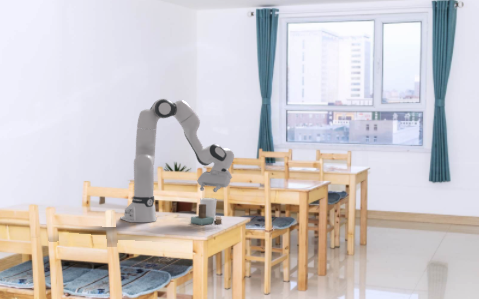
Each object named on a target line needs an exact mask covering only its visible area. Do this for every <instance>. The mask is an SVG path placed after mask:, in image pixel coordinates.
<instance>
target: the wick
mask: <svg viewBox="0 0 479 299" xmlns="http://www.w3.org/2000/svg"><path fill="white" fill-rule="evenodd" d="M215 224H216V225H222V217H221V216H216V215H215Z"/></svg>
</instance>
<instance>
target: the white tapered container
mask: <svg viewBox="0 0 479 299" xmlns="http://www.w3.org/2000/svg"><path fill="white" fill-rule="evenodd" d="M199 199H200V200H199V202H200V203H199V204H206V216H209V217H213V221H214V220H216V211H217V198H215V197H201V198H199Z"/></svg>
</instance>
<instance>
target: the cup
mask: <svg viewBox="0 0 479 299" xmlns="http://www.w3.org/2000/svg"><path fill="white" fill-rule="evenodd" d="M190 223H191V224H193V225H199V226H205V225H212V223H213V224H214V220H213V217H209V216H206V218H203V219H201V218H198V215H196V216H195V215H194V216H191V217H190Z"/></svg>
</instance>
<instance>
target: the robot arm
mask: <svg viewBox="0 0 479 299" xmlns="http://www.w3.org/2000/svg"><path fill="white" fill-rule="evenodd" d="M170 117H174V118H175V119H176V121H177V122H178V123H179V124H180V126H181V128H182V130H183V133H184V136H185V138H186V140H187V142H188V143H189V145H190V147H191V149H192V151H193V152H194V154H195V157H196V160H197V162H198V163H199V164H200V165H202V166H206V167H207V166H209V165H211V164H212V163H213V165H212V168H211V169H210V171H205V172H202V173H201V174H200V176H199V177H198V178H197V179H196V181H197V184H199V186H200V188H199V190H200V191H204V190H205V186H206V187H207V186H208V187H213V189H212V192H213V193H217V192H218V191H219V190H220V189H221V188H227V187H228V186H229V184H230V183H231V179H232V178H233V176H232V174H231V172H230V170H229V169H230V168H231V166H232V163H233V162H234V159H235V154H234V152H233V150H231V149H230V148H224V147H222V146H221V145H219V144H217V143H213V144H211V145H209V146H206V147H204V146H203V144H202V143H201V142H202V141H201V140H200V139H199V137H198V135H197V131H198V130H199V127H200V124H201V119H200V118H199V116H198V115H197V113H196V112H195V110H194V109H193V107H192V106H190V105H189V103H188V102H186V101H185V100H183V99H178V100H176V101H175V102H173V101H171V100H169V99H167V98H160V99H158V100H156V101H155V102H154V103H153V104H152V106H151V107H150V108H149V109H146V108H145V109H143V110H141V111H140V112H139V115H138V119H137V124H136V126H137V127H136V138H135V158H134V160H133V184H134V185H133V187H134V188H133V190H134V191H133V196H131V203H130V204H129V205H128V206H126V208H124V214H123V215H122V216H120V218H119V219H120V220H123V221H126V222H128V223H151V222H156V221H157V220H158V217H157V215H156V214H157V213H156V205H155V204H154V203H155V194H154V193H155V192H154V190H155V189H154V188H155V187H154V185H155V183H154V179H155V177H154V174H155V173H154V165H155V158H156V156H155V155H156V140H157V128H158V127H157V124H158V121H159V119H168V118H170Z"/></svg>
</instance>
